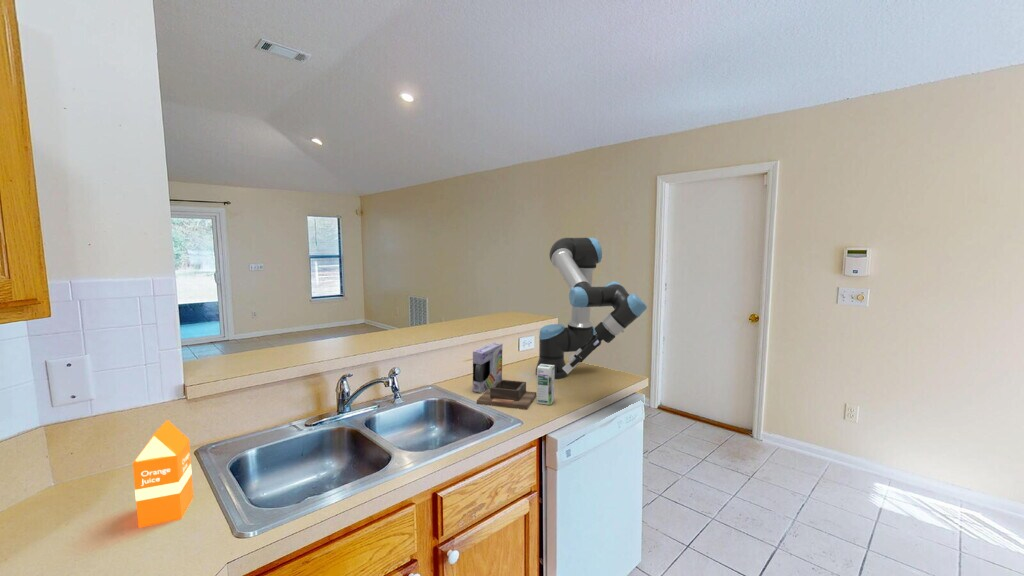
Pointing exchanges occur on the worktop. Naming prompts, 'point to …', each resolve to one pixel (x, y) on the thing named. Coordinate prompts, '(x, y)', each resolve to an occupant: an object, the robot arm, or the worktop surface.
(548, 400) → the syrup box
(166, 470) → the orange juice
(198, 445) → the worktop surface
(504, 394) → the socket board
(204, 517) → the worktop surface
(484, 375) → the cake pan box
